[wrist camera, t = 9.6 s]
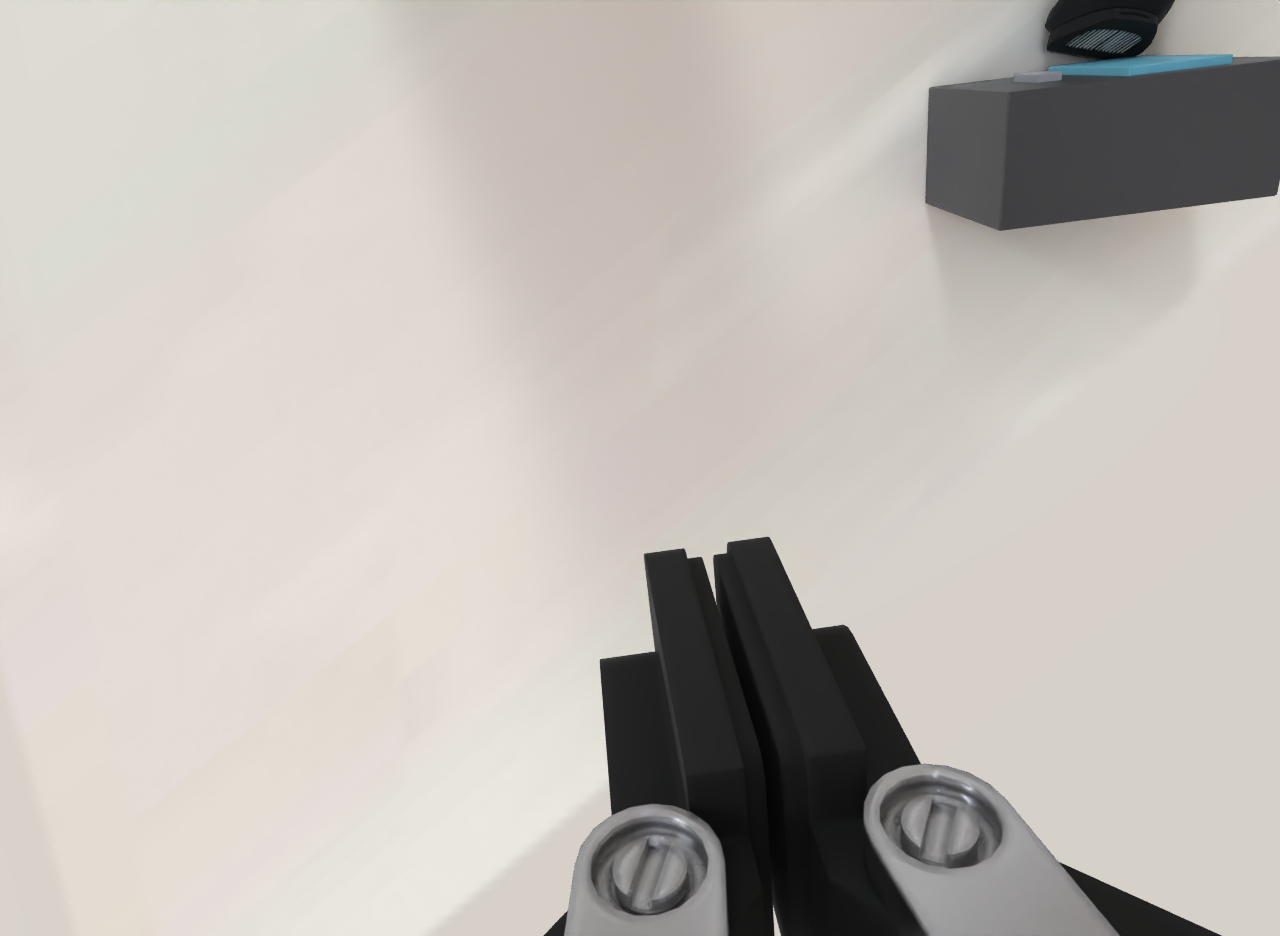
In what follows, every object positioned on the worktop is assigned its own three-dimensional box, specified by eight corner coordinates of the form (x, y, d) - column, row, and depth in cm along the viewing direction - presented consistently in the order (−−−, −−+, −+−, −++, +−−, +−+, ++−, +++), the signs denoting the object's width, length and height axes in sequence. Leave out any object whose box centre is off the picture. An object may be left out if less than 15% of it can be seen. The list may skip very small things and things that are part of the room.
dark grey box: (1009, 83, 25) (1307, 46, 26) (928, 79, 31) (1175, 49, 31) (999, 231, 27) (1277, 195, 27) (924, 203, 33) (1158, 174, 33)
